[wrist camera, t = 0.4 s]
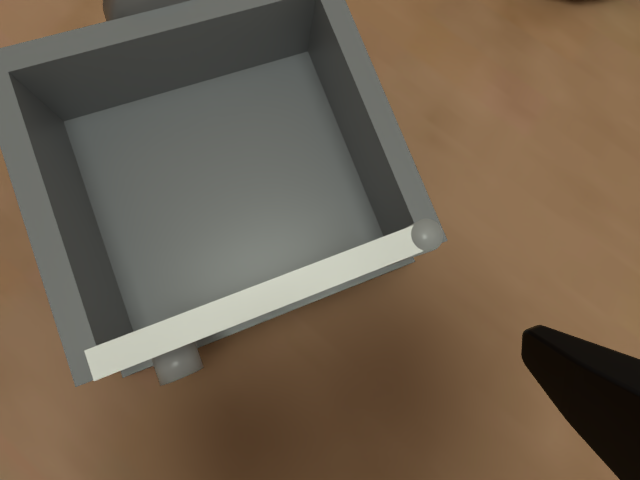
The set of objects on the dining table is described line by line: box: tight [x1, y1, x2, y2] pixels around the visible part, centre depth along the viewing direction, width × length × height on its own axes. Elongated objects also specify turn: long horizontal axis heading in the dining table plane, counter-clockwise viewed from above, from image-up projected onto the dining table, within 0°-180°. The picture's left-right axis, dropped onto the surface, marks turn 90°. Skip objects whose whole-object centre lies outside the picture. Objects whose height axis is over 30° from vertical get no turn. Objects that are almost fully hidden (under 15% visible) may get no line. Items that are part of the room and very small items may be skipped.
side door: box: [84, 219, 443, 386], centre depth 18 cm, size 13×2×9 cm, turn 111°
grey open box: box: [0, 0, 448, 387], centre depth 22 cm, size 18×17×7 cm
